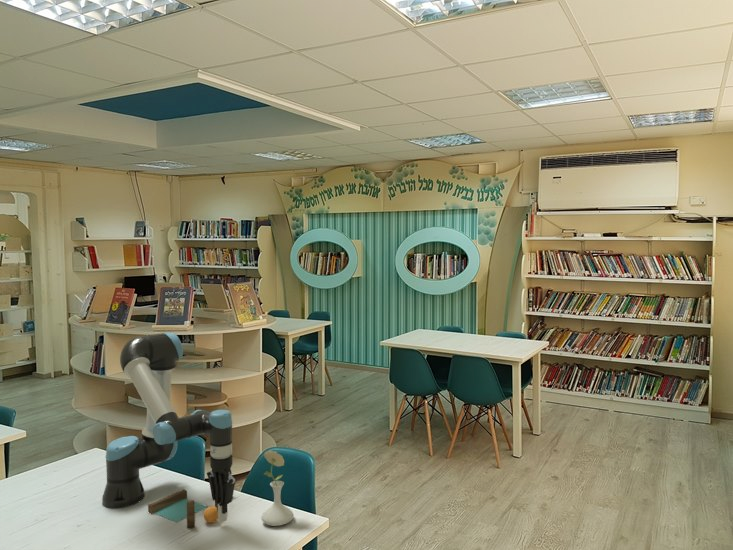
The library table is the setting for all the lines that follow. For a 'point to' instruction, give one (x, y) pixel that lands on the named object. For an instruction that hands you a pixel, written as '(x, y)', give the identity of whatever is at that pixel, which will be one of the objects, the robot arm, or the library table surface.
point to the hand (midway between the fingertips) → (222, 521)
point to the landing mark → (178, 510)
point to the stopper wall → (167, 501)
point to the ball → (211, 514)
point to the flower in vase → (276, 495)
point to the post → (190, 514)
